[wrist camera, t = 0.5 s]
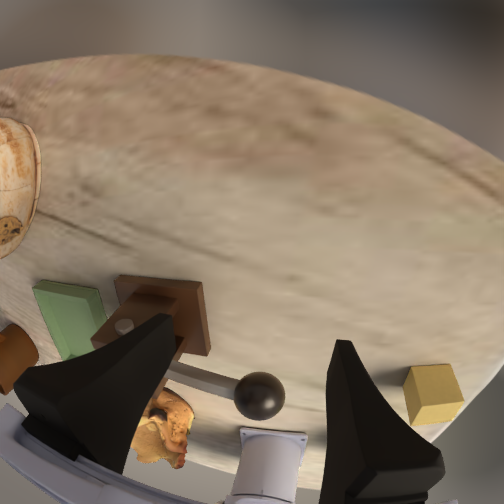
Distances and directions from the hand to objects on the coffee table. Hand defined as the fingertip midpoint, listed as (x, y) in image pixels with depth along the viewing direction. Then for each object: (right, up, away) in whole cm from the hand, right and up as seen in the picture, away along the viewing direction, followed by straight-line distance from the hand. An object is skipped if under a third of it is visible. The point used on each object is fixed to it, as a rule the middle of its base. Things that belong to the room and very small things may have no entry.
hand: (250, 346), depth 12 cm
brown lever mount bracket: (-8, -1, +13) cm, 16 cm away
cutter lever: (-3, -4, +8) cm, 9 cm away
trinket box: (-26, +11, +12) cm, 31 cm away
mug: (-36, -8, +23) cm, 43 cm away
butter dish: (-19, -5, +17) cm, 26 cm away
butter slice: (+17, -8, +11) cm, 22 cm away
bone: (-11, -15, +20) cm, 27 cm away
